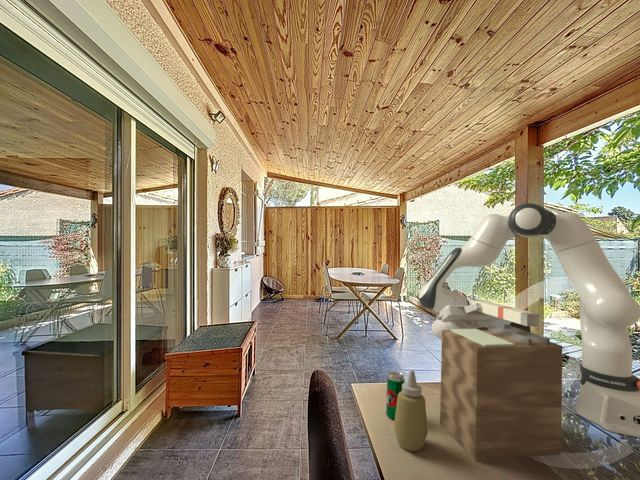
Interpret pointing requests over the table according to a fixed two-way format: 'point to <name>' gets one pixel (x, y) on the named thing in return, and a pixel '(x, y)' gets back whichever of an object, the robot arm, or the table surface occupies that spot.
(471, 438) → the cabinet
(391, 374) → the soda can
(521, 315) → the red-banded cream beam
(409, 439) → the squeeze bottle
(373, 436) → the table surface
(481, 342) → the plate
